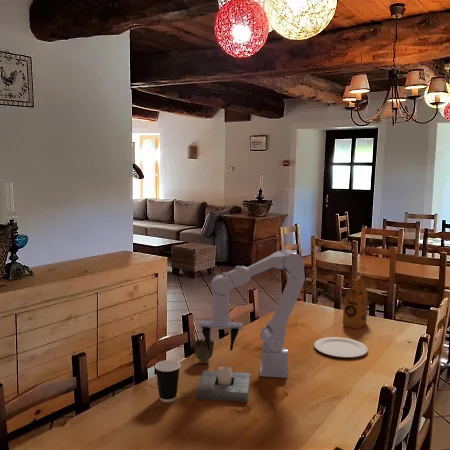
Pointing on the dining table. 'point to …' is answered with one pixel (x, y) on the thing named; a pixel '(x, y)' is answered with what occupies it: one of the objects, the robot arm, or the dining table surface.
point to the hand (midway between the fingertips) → (220, 348)
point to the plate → (340, 347)
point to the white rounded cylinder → (224, 376)
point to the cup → (203, 351)
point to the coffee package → (355, 305)
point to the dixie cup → (167, 379)
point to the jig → (224, 387)
